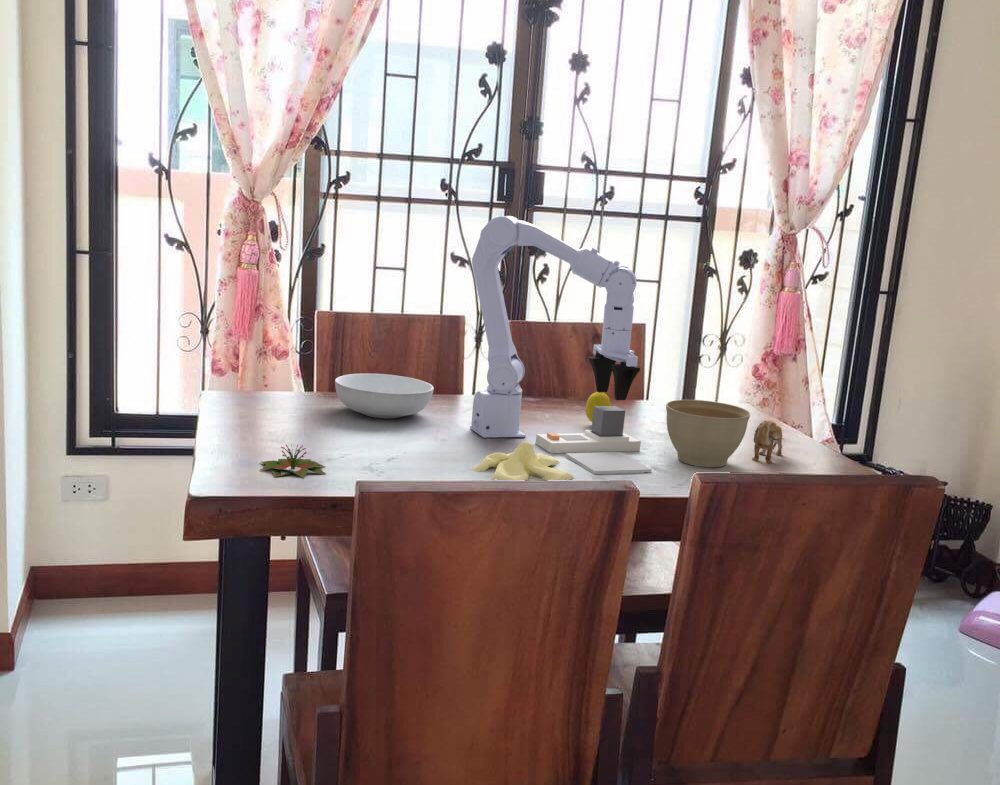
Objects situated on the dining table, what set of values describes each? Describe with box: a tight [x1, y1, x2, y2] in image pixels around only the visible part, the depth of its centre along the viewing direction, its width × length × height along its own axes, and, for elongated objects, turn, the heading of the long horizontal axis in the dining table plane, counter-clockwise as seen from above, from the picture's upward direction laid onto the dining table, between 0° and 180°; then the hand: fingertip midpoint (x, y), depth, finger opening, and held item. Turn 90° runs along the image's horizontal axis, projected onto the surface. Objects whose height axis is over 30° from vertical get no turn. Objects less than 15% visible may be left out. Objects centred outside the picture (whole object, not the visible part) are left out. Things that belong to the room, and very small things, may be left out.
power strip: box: [535, 429, 642, 454], centre depth 202 cm, size 20×7×3 cm, turn 113°
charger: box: [590, 405, 626, 437], centre depth 203 cm, size 5×4×6 cm
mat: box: [565, 451, 653, 475], centre depth 191 cm, size 12×12×1 cm
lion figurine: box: [751, 419, 783, 464], centre depth 206 cm, size 15×5×9 cm, turn 159°
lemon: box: [585, 391, 612, 423], centre depth 221 cm, size 6×6×8 cm
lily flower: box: [259, 443, 327, 479], centre depth 170 cm, size 12×12×5 cm
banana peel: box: [469, 440, 574, 481], centre depth 181 cm, size 22×19×6 cm
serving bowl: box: [334, 373, 435, 419], centre depth 215 cm, size 21×21×7 cm
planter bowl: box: [665, 399, 751, 468], centre depth 198 cm, size 16×16×11 cm
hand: (611, 395), depth 202 cm, fingers open, 7 cm apart
